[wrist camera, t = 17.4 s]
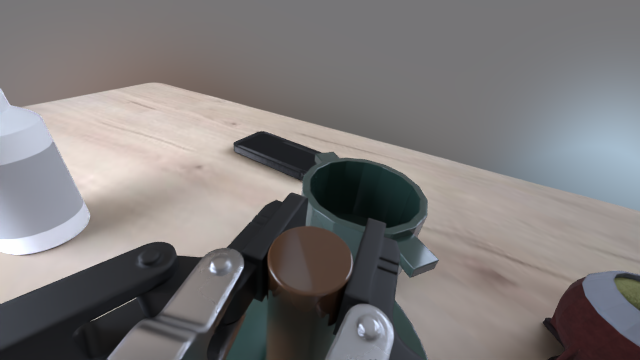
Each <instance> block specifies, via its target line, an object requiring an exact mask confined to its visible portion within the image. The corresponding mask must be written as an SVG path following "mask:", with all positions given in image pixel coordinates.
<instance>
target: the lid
mask: <svg viewBox="0 0 640 360" xmlns="http://www.w3.org/2000/svg"><path fill="white" fill-rule="evenodd" d="M353 268H354V262H353V256H352V253H351V251H350V248H349V247H348V245H347V244H346V243H345V241H344V240H343V239H342V238H341V237H339V236H338V235H337V234H335V233H333V232H332V231H330V230H327V229H324V228H321V227H316V226H299V227H295V228H291V229H289V230H287V231H285V232H283V233H282V234H280V235H279V236H278V237H277V238H276V239H275V240H274V241H273V243H272V244H271V246H270V248H269V251H268V255H267V295H266V296H265V298H264V300H263V301H262V302H260V301H258V300H255V299H253V301H252V302H251V304H250V305H249V307H248V308H247V313H246V317H245V319H244V321H243V323H242V326H241V328H240V330H239V332H238V334H237V336H236V338H235V341H234V343H233V345H232V347H231V349H230V351H229V353H228V355H227V358H226V360H325V358H326V356H327V354H328V352H329V350H330V347H331V345H332V343H333V341H334V339H335V337H336V335H333V331H334V328H335V324H336V321H337V317H338V314H339V311H340V307H341V304H342V300H343V297H344V294H345V290H346V287H347V284H348V281H349V279H350V278H351V275H352V273H353ZM393 322H394V326H395V328H396V331H397V333H398V334H399V336H400V338H401V339H402V340H403V341H404V343H405V344H406V345H407V346H408V347H409V348H411V349H412V350H413V351H414V352H415V353H417V354H418V355H419V356H420V357H422V358H423V359H424V360H428V358H427V356H426V353H425V351H424V348H423V346H422V343H421V341H420V339H419V337H418V335H417V333H416V331H415V329H414V327H413V325H412V324H411V322H410V321H409V319H408V318H407V316H406V314H405V313H404V311H403V310H402V309H401V307H400V306H399V305H398V304H397V302H396V301H395V300H394V308H393Z"/></svg>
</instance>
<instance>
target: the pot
mask: <svg viewBox="0 0 640 360" xmlns="http://www.w3.org/2000/svg"><path fill="white" fill-rule="evenodd" d="M315 162H316V163H317V165H315V166H313V167H311V168H310V170H309V171H308V172H307V173H306V174H305V176H304V177H303V182H302V193H301V196H304V197H307V198H308V209H307V217H306V225H305V226H316V227H321V228H324V229H327V230H330V231H332V232H333V233H335V234H337V235H338V236H339V237H341V238H342V239H343V240H344V241H345V243H346V244H347V245H348V247H349V248H350V251H351V253H352V256H353V262H355V259H356V256H357V253H358V249H359V246H360V243H361V240H362V237H363V234H364V231H365V227H366V224H367V221H368V218H371V219H374V220H377V221H380V222H383V223H386V229H385V233H384V237H387V238H390V239H393V240H396V241H397V244H398V247H399V249H400V252H401V253H400V261H399V269H398V275H399V274H400V273H401V271H402V269H403V270H404V271H405V272H406V274H407V275H408V276H409V277H410V278H411V277H414V276H416V275H419V274H421V273H424V272H426V271H429V270H432V269H434V268H435V266H436V264H437V263H438V261H439V260H438V259H437V258H436V257H435V256H434V254H433V253H432V252H431V251H430V250H429V249H428V248H427V247H426V246H425V245H424V244H423V243H422V242H421V241H420V240H419V239H418V238H417V237H418V235H419V232H420V230H421V228H422V226H423V224H424V222H425V219H426V217H427V206H428V201H427V199H426V197H425V195H424V194H423V192H422V190H421V189H420V187H419V186H418V185H417V184H415V183H414V182H413V181H412V180H411V179H409V178H408V177H407V176H406V175H404V174H403V173H401V172H399V171H397V170H395V169H393V168H391V167H389V166H386V165H384V164H380V163H376V162H373V161H369V160H365V159H354V158H339V157H338V156H337V155H336V154H335V153H334V152H329V153H320V154H315ZM398 275H397V276H398Z"/></svg>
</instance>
